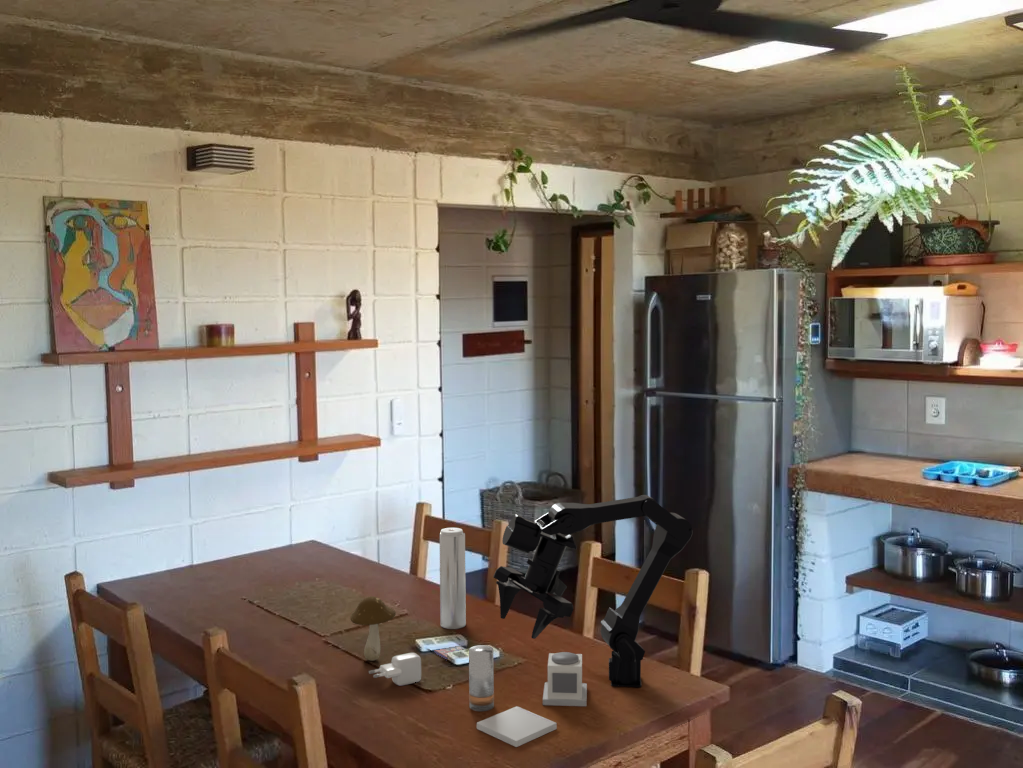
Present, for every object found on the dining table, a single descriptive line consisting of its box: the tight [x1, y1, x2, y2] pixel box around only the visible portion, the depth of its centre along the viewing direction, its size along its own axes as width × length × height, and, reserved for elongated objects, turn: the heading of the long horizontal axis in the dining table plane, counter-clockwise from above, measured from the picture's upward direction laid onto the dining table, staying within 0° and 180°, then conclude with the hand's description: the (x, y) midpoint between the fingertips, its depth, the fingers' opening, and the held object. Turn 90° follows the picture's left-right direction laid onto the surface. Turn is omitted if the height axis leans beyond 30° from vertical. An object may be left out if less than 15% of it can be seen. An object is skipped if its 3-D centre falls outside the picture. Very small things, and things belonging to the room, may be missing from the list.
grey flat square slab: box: [476, 705, 558, 748], centre depth 189 cm, size 11×11×1 cm
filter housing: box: [542, 651, 588, 707], centre depth 204 cm, size 9×9×9 cm
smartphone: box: [434, 645, 467, 660], centre depth 229 cm, size 1×7×15 cm
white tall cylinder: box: [439, 527, 467, 630], centre depth 248 cm, size 6×6×25 cm
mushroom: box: [349, 595, 397, 662], centre depth 225 cm, size 9×11×15 cm
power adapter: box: [368, 652, 422, 686], centre depth 211 cm, size 11×5×6 cm, turn 120°
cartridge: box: [468, 644, 495, 712], centre depth 199 cm, size 5×5×12 cm
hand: (517, 628), depth 206 cm, fingers open, 9 cm apart
